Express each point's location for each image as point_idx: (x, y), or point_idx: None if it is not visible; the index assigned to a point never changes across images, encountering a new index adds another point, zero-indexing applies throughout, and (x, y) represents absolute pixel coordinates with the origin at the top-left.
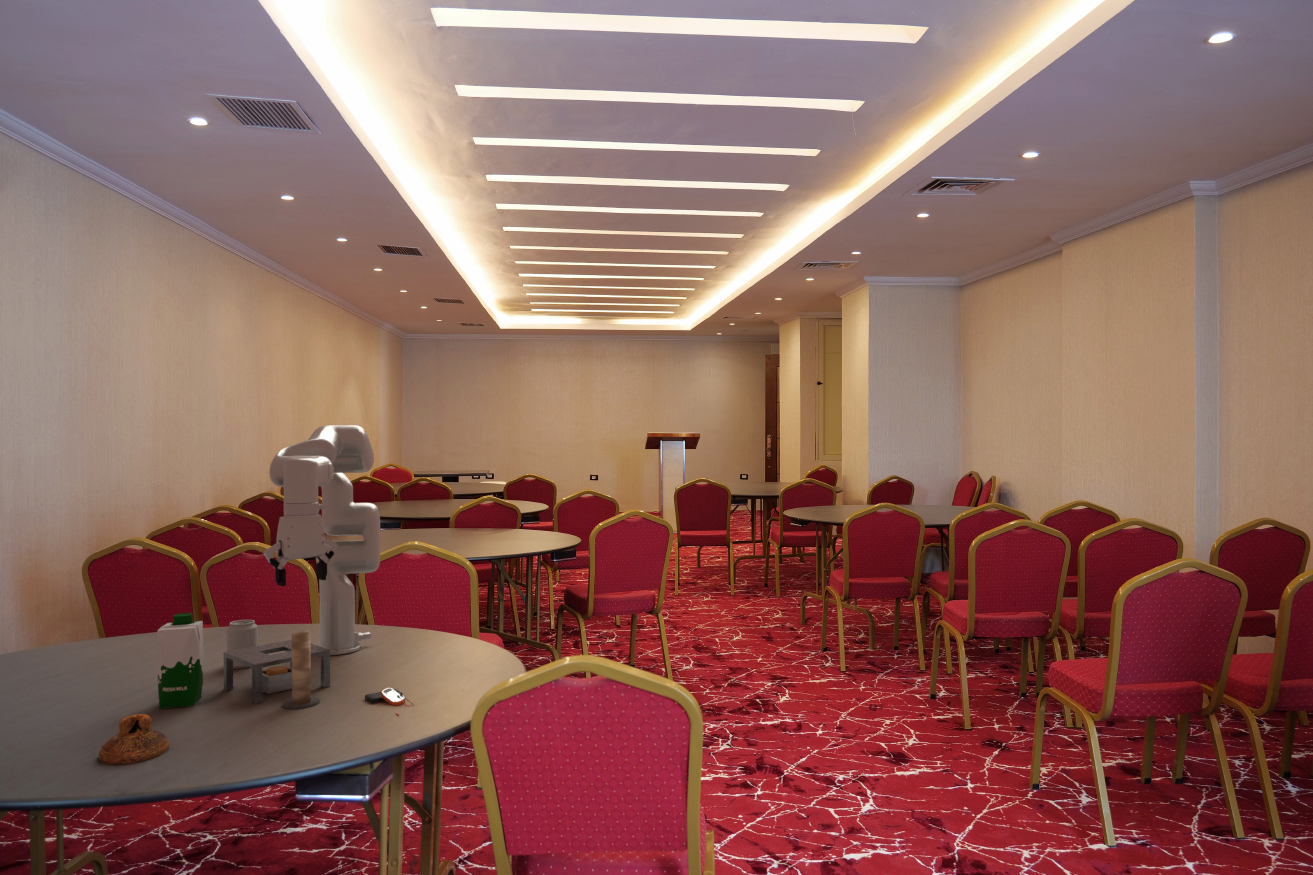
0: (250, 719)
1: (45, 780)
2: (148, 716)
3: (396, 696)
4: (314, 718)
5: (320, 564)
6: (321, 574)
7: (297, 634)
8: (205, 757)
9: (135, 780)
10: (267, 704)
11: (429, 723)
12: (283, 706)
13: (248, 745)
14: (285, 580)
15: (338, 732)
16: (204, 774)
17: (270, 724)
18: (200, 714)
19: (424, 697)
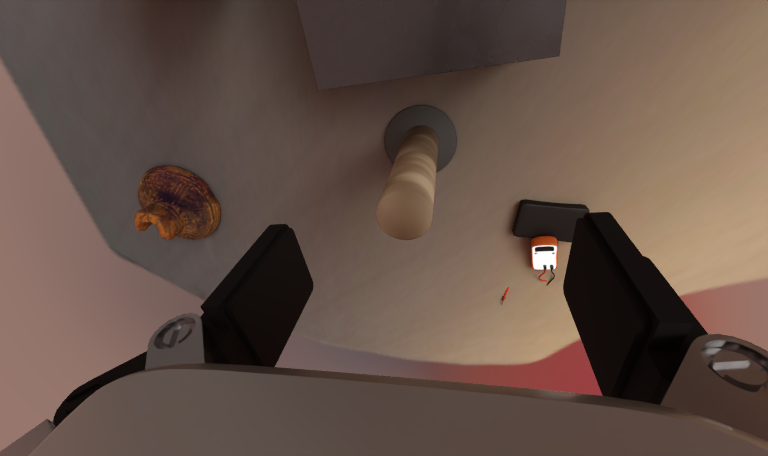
0: (324, 170)
1: (117, 221)
2: (166, 233)
3: (545, 262)
4: None
5: (615, 368)
6: (577, 303)
7: (386, 232)
8: None
9: (205, 278)
10: (366, 98)
11: (509, 342)
12: (385, 144)
13: (308, 267)
14: (300, 308)
15: (409, 299)
16: None
17: (346, 215)
18: (248, 72)
19: None
